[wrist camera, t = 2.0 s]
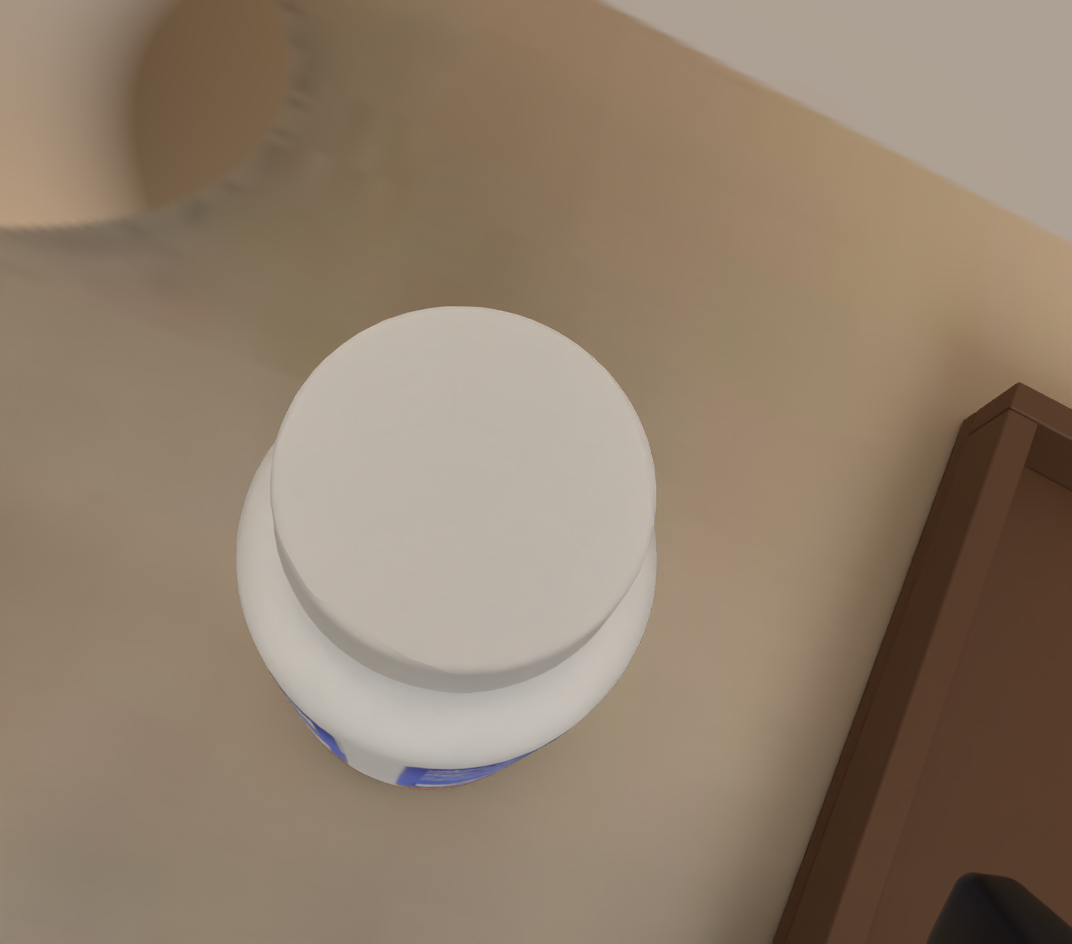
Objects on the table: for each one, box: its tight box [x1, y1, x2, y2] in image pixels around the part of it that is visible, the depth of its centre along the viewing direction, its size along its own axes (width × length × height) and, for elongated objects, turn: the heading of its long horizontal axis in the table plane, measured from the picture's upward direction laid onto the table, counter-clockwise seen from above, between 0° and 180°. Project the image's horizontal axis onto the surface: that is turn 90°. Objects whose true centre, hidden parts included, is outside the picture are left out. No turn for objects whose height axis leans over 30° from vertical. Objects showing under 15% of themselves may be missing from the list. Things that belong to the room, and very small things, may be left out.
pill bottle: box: [236, 306, 657, 789], centre depth 15 cm, size 5×5×10 cm
